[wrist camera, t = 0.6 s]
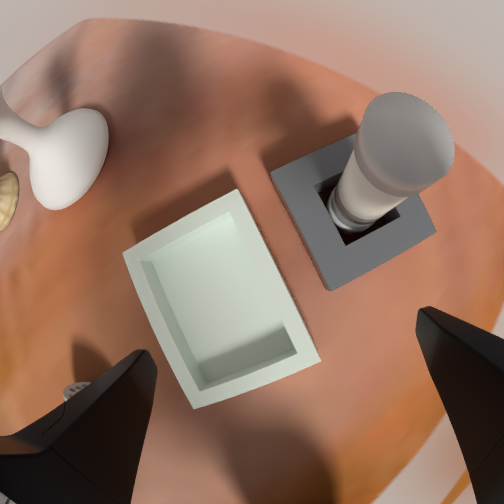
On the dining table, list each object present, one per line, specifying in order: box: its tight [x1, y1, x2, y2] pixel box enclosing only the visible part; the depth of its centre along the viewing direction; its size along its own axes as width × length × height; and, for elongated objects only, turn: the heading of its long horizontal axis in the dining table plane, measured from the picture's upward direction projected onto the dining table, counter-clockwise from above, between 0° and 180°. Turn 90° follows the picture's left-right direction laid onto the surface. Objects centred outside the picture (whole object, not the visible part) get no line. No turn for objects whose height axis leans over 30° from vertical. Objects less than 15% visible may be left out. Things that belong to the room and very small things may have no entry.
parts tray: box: [122, 189, 321, 409], centre depth 21 cm, size 13×10×3 cm
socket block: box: [270, 133, 437, 291], centre depth 20 cm, size 9×9×3 cm
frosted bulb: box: [327, 92, 454, 235], centre depth 15 cm, size 4×4×13 cm
